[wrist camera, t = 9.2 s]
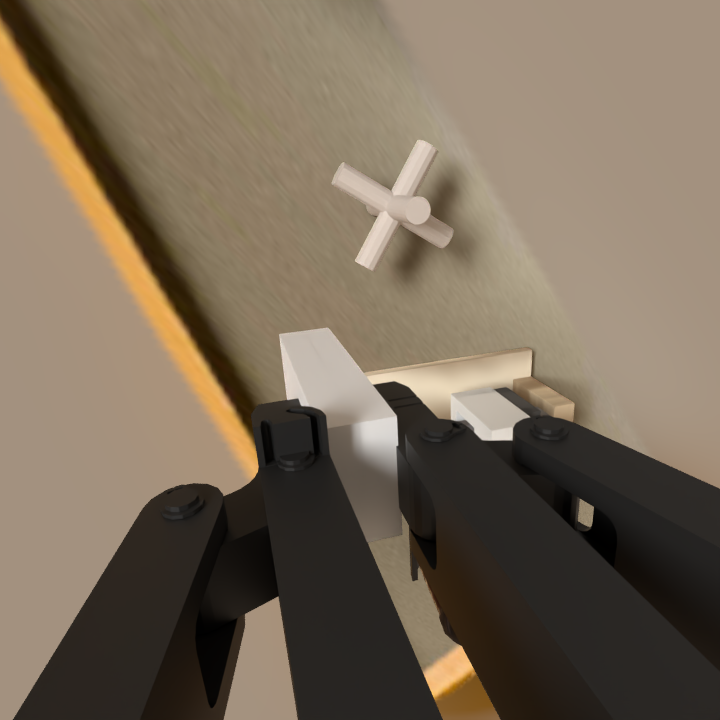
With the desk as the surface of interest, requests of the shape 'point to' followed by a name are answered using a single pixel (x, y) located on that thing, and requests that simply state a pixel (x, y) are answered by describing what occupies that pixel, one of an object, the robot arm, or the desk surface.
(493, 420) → the sleeve
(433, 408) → the pipe rig
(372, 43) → the desk surface
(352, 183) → the pipe connector
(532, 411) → the dark grey block
